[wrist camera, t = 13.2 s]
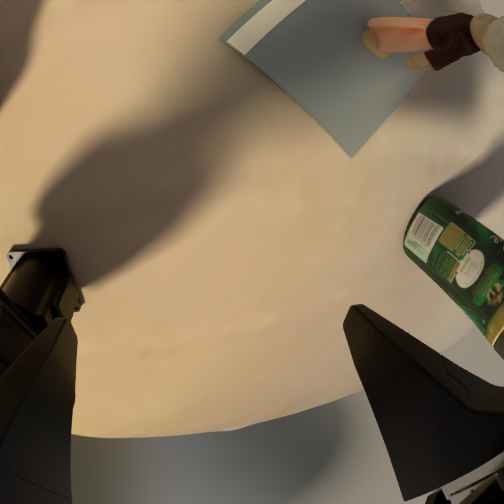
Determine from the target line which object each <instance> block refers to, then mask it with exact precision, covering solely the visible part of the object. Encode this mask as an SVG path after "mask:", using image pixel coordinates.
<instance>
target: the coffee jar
mask: <svg viewBox="0 0 504 504" xmlns="http://www.w3.org/2000/svg"><path fill="white" fill-rule="evenodd" d="M403 248H404V252H405V253H406V255H407V256H408V257H409V258H410V259H411V260H412V261H413V262H414V263H415V264H416V265H418V266H419V267H420V268H421V269H422V270H423V271H424V272H425V273H426V274H427V275H428V276H429V277H430V278H431V279H432V280H433V281H434V282H435V283H437V284H438V285H439V286H440V288H442V289H443V290H444V291H445V292H446V294H447V295H448V296H449V297H450V298H451V299H452V300H453V301H454V302H455V303H456V304H457V305H458V306H459V307H460V308H461V309H462V310H463V311H464V313H465V314H466V315H467V316H468V317H469V318H470V319H471V320H472V321H473V323H474V324H475V325H476V326H477V327H478V328H479V330H480V331H481V332H482V334H483V335H484V336H485V337H486V339H487V340H488V341H489V343H490V344H491V345H492V347H494V350H495V351H496V352H497V353H498V354H499V355H500V356H501V357H502V358H503V359H504V240H503V239H502V238H501V237H499V236H498V235H497V234H495V233H494V232H493V231H491V230H490V229H488V228H487V227H485V226H484V225H482V224H481V223H480V222H478V221H477V220H475V219H474V218H472V217H471V216H469V215H468V214H466V213H465V212H463V211H462V210H460V209H459V208H457V207H456V206H454V205H453V204H451V203H449V202H448V201H446V200H444V199H442V198H440V197H431V198H430V199H428V200H427V201H426V202H425V203H424V204H423V205H422V206H421V207H420V208H419V209H418V210H417V211H416V213H415V214H414V216H413V218H412V219H411V221H410V223H409V225H408V227H407V231H406V234H405V237H404V242H403Z"/></svg>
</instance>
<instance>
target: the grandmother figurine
mask: <svg viewBox="0 0 504 504" xmlns="http://www.w3.org/2000/svg"><path fill="white" fill-rule="evenodd" d="M367 26H368V27H369V28H368V29H366V30H365V31H364V32H363V34H362V41H363V43H364V45H365V46H366V47H367V48H368V49H369V50H370V51H372V52H373V53H374V54H375V55H376V56H378V57H379V58H382V59H384V58H386V57H388V56H389V55H390V53H395V52H417V51H421V50H428V51H426V52H424V53H421V54H418V55H417V56H409V57H406V59H405V61H404V64H405V66H406V68H407V69H408V70H409V71H411V72H418V71H420V70H430V69H434V70H435V71H437V70H440V69H442V68H443V67H445V66H447V65H449V64H451V63H453V62H455V61H457V60H459V59H460V58H461V57H463V56H468V55H472V54H474V53H476V52H478V51H480V50H482V51H483V52H484V53H486V54H487V55H489V57H490V58H491V59H492V61H493V63H494V66H496V67H498V68H499V70H500V71H502V72H504V16H502V17H501V18H500V19H498V18H496V17H495V16H492V15H490V14H478V15H476V16H475V17H473V16H472V15H468V14H465V13H451V12H449V13H446V15H445V16H444V17H438V18H435V19H429V18H415V17H394V16H392V15H390V14H386V13H384V14H381V15H380V16H379V17H378V18H371V19H370V20H369V21H368V23H367Z"/></svg>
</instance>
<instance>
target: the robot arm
mask: <svg viewBox="0 0 504 504" xmlns="http://www.w3.org/2000/svg"><path fill="white" fill-rule="evenodd" d="M59 254H60V255H61V256H59ZM11 255H12V256H11ZM7 259H8V262H9V264H10V267H11V271H10V273H9V274H8V276H7V277H6V279H5V280H4V282H3V283H2V285H1V286H0V504H72V493H71V475H70V474H71V468H70V454H71V427H72V414H73V407H74V403H75V382H76V359H77V345H78V340H77V336H76V333H75V331H74V329H73V326H72V324H71V319H72V316H73V313H74V312H78V311H80V308H81V304H80V301H79V293H78V290H77V287H76V284H75V280H74V277H73V274H72V273H71V272H70V268H69V264H68V261H67V257H66V253H65V251H64V250H63V249H60V248H55V249H21V250H10V251H9V252H8V253H7ZM76 306H77V307H76ZM343 329H344V332H345V336H346V339H347V342H348V345H349V349H350V352H351V355H352V359H353V362H354V365H355V368H356V370H357V373H358V375H359V378H360V380H361V382H362V385H363V387H364V390H365V392H366V395H367V397H368V400H369V403H370V405H371V408H372V410H373V413H374V416H375V418H376V421H377V424H378V426H379V429H380V432H381V434H382V437H383V440H384V443H385V445H386V448H387V451H388V454H389V457H390V459H391V463H392V466H393V469H394V472H395V475H396V478H397V481H398V484H399V487H400V490H401V493H402V497H403V499H404V501H408V500H411V499H413V498H416V497H419V496H421V495H424V494H426V493H429V492H431V491H433V490H436V489H437V490H436V491H434V492H433V493H431V494H430V495H429V496H428V497H427V500H426V503H425V504H504V387H500V386H495V385H492V384H490V383H488V382H487V381H485V380H483V379H481V378H479V377H478V376H476V375H474V374H472V373H470V372H468V371H467V370H465V369H463V368H462V367H460V366H458V365H457V364H455V363H453V362H452V361H450V360H449V359H447V358H446V357H444V356H443V355H440V354H439V353H438V352H436V351H435V350H433V349H432V348H430V347H429V346H427V345H426V344H424V343H423V342H421V341H419V340H418V339H416V338H415V337H413V336H412V335H410V334H409V333H407V332H406V331H404V330H402V329H401V328H399V327H398V326H396V325H395V324H393V323H392V322H390V321H388V320H387V319H385V318H384V317H382V316H381V315H379V314H377V313H376V312H374V311H373V310H371V309H370V308H368V307H366V306H365V305H363V304H357V305H352V306H351V307H350V308H349V311H348V313H347V315H346V317H345V320H344V322H343Z"/></svg>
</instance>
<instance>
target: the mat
mask: <svg viewBox="0 0 504 504" xmlns="http://www.w3.org/2000/svg"><path fill="white" fill-rule="evenodd" d="M384 13H386V14H390V15H392V16H394V17H410V15H409V14H408V13H407V11H406V10H405V9H404V8H403V6H402V5H401V4H400V3H399V1H398V0H261V1H260V2H259V3H257V4H256V5H255V6H254V7H253V8H251V9H250V10H249V11H248V12H247V13H246V14H245V15H243V16H242V17H241V18H240V19H239V20H238V21H237V22H236V23H235V24H234V25H232V26H231V27H230V28H229V29H228V30H227V31H226V32H225V33H224V34H223V35H222V36H221V37H220V38H219V39H220V40H222V41H223V42H224V43H226V44H227V45H229V46H230V47H231V48H233V49H234V50H235V51H237V52H238V53H239V54H241V55H242V56H243V57H244V58H246V59H247V60H248V61H250V62H251V63H252V64H253V65H255V66H256V67H257V68H258V69H259V70H261V71H262V72H263V73H264V74H265V75H267V76H268V77H269V78H270V79H271V80H273V81H274V82H275V83H276V84H277V85H278V86H279V87H281V88H282V89H283V90H284V91H285V92H286V93H287V94H288V95H289V96H290V97H292V98H293V99H294V100H295V101H296V102H297V103H298V104H299V105H300V106H301V107H302V108H303V109H304V110H305V111H306V112H307V113H308V114H309V115H310V116H311V117H312V118H313V119H314V120H315V121H316V122H317V123H318V124H319V125H320V126H321V127H322V128H323V129H324V130H325V131H326V132H327V133H328V134H329V135H330V136H331V137H332V138H333V139H334V140H335V141H336V143H337V144H338V145H339V146H340V147H341V148H342V149H343V150H344V151H345V152H346V154H347V155H348V156H349V157H351V158H353V157H354V156H355V154H356V153H357V152H358V151H359V150H360V149H361V148H362V146H363V145H364V144H365V143H366V142H367V141H368V140H369V138H370V137H371V136H372V135H373V134H374V133H375V132H376V131H377V129H378V128H379V127H380V126H381V125H382V124H383V123H384V121H385V120H386V119H387V118H388V117H389V116H390V114H391V113H392V112H393V111H394V110H395V109H396V108H397V106H398V105H399V104H400V103H401V102H402V101H403V99H404V98H405V97H406V96H407V95H408V94H409V93H410V91H411V90H412V89H413V88H414V87H415V86H416V84H417V83H418V82H419V81H420V80H421V79H422V77H423V76H424V75H425V74H426V73H427V72H428V70H420V71H418V72H411V71H409V70H408V69H407V68H406V66H405V64H404V61H405V59H406V57H409V56H417V55H418V54H421V53H424V52H426V51H428V50H421V51H417V52H395V53H390V55H389V56H388V57H386V58H384V59H382V58H379V57H378V56H376V55H375V54H374V53H373V52H372V51H370V50H369V49H368V48H367V47H366V46H365V45H364V43H363V41H362V34H363V32H364V31H365V30H366V29H368V28H369V27H368V26H367V23H368V21H369V20H370V19H371V18H378V17H379V16H380V15H381V14H384Z"/></svg>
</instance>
